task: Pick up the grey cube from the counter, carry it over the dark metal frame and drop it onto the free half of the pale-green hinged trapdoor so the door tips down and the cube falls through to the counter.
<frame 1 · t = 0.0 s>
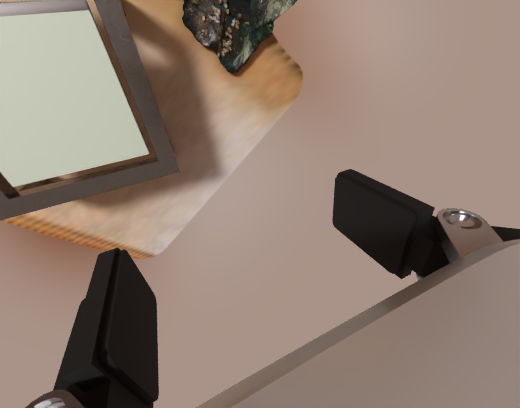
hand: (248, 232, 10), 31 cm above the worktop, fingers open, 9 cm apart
frame: (72, 99, 29), on the worktop
trapdoor: (31, 75, 21), point 8 cm above the worktop, hinge at -0.3°
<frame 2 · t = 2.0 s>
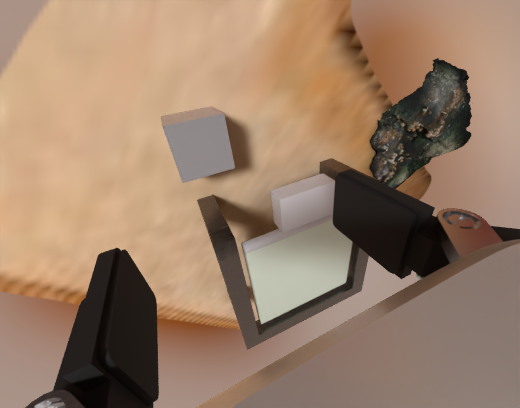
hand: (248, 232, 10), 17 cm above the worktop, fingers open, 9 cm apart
frame: (276, 233, 34), on the worktop
trapdoor: (303, 253, 27), point 8 cm above the worktop, hinge at -0.8°
grey cube: (194, 136, 23), on the worktop
decorative rock: (404, 132, 36), on the worktop
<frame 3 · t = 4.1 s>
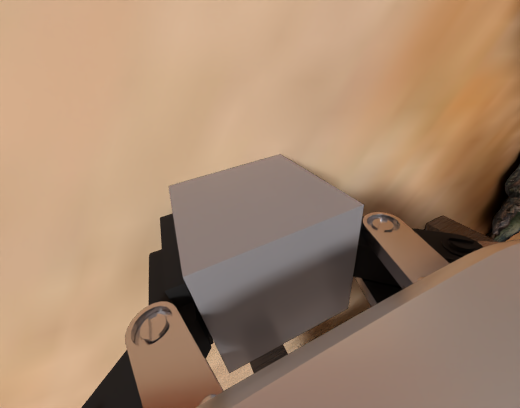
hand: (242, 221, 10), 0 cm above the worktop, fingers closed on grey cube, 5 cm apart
frame: (344, 325, 22), on the worktop
grey cube: (238, 215, 11), on the worktop, touching gripper
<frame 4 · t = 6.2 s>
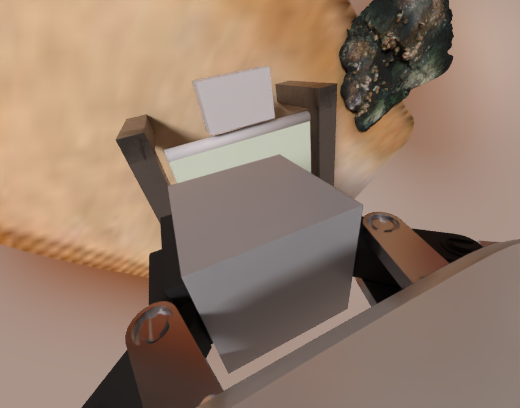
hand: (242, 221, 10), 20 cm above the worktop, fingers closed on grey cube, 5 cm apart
frame: (234, 173, 31), on the worktop
trapdoor: (251, 177, 23), point 8 cm above the worktop, hinge at -0.8°
grey cube: (238, 216, 11), point 19 cm above the worktop, touching gripper
decorative rock: (380, 56, 32), on the worktop
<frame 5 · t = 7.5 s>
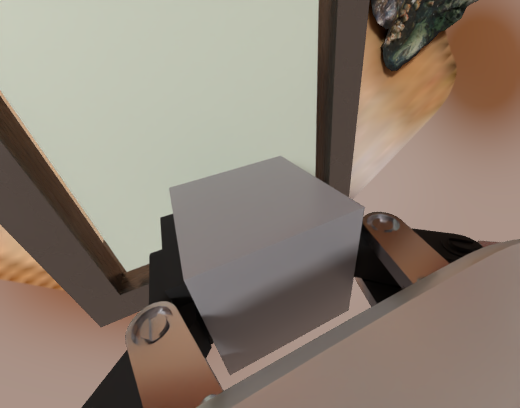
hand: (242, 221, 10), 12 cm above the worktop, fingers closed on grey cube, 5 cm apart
frame: (187, 117, 19), on the worktop
trapdoor: (191, 82, 11), point 8 cm above the worktop, hinge at -0.8°
grey cube: (239, 217, 11), point 12 cm above the worktop, touching gripper
when the fingers open (12 cm above the worktop, at t = 8.3 s): grey cube drops 8 cm and tips over, resting on trapdoor.
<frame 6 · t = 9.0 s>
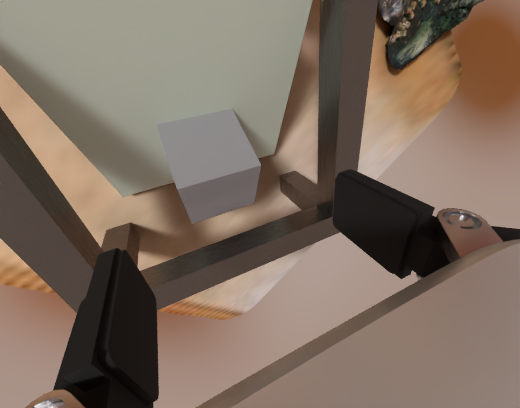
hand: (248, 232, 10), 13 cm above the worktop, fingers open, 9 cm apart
frame: (188, 117, 18), on the worktop
trapdoor: (183, 65, 12), point 6 cm above the worktop, hinge at -32.8°, touching grey cube
grey cube: (200, 142, 17), point 3 cm above the worktop, tilted 33°, touching trapdoor
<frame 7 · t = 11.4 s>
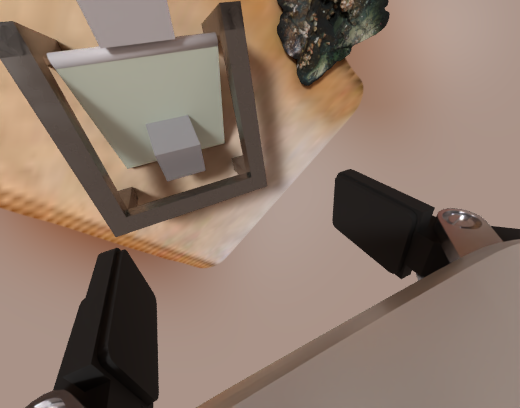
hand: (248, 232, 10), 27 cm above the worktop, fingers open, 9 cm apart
frame: (166, 120, 30), on the worktop
trapdoor: (157, 94, 24), point 6 cm above the worktop, hinge at -32.8°, touching grey cube
grey cube: (172, 134, 29), point 3 cm above the worktop, tilted 33°, touching trapdoor
decorative rock: (321, 8, 32), on the worktop
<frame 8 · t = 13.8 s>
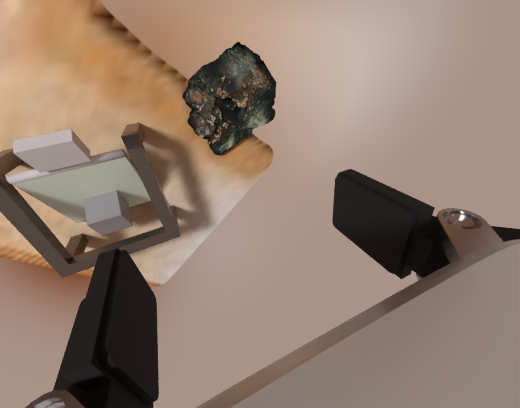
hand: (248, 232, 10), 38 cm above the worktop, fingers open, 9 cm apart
frame: (105, 187, 41), on the worktop
trapdoor: (89, 182, 35), point 6 cm above the worktop, hinge at -32.8°, touching grey cube
grey cube: (107, 201, 40), point 3 cm above the worktop, tilted 33°, touching trapdoor
decorative rock: (226, 102, 43), on the worktop
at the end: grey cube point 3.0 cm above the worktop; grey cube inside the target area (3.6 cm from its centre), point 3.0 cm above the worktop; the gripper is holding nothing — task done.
